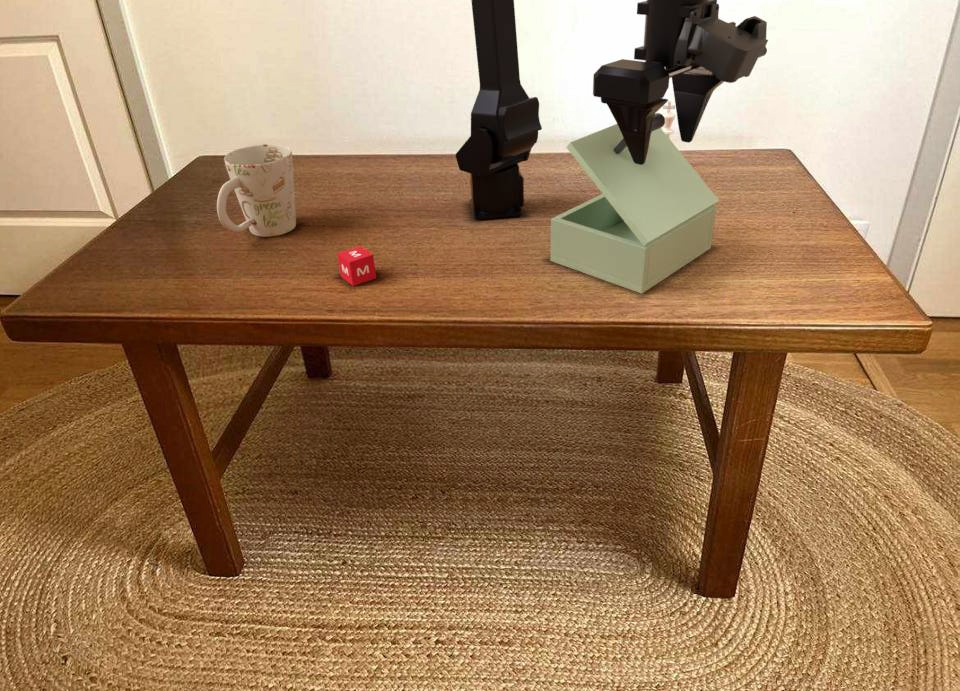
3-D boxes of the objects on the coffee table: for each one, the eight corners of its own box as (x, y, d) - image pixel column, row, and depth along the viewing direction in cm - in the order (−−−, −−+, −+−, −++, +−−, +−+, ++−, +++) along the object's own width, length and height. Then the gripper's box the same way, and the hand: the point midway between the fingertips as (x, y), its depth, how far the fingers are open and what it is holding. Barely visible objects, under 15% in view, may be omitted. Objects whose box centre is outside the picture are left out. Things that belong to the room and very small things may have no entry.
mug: (317, 220, 98) (304, 147, 93) (256, 258, 89) (238, 180, 83) (268, 212, 101) (253, 141, 96) (205, 248, 92) (184, 172, 86)
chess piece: (680, 174, 107) (687, 105, 102) (646, 173, 108) (652, 105, 103) (679, 163, 111) (686, 97, 106) (646, 162, 112) (652, 96, 107)
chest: (550, 261, 85) (550, 218, 82) (621, 222, 94) (624, 182, 91) (641, 293, 77) (645, 248, 75) (710, 248, 86) (716, 206, 83)
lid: (565, 147, 76) (591, 114, 72) (643, 116, 85) (670, 85, 81) (643, 246, 75) (674, 219, 71) (714, 204, 83) (745, 177, 79)
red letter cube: (376, 278, 83) (373, 254, 81) (353, 286, 82) (349, 262, 80) (363, 269, 85) (360, 245, 83) (340, 277, 84) (337, 253, 82)
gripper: (705, 8, 58) (685, 194, 66) (804, -19, 69) (776, 143, 77) (592, 0, 65) (586, 170, 73) (699, -23, 76) (684, 127, 84)
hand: (663, 152), depth 77 cm, fingers open, 9 cm apart
